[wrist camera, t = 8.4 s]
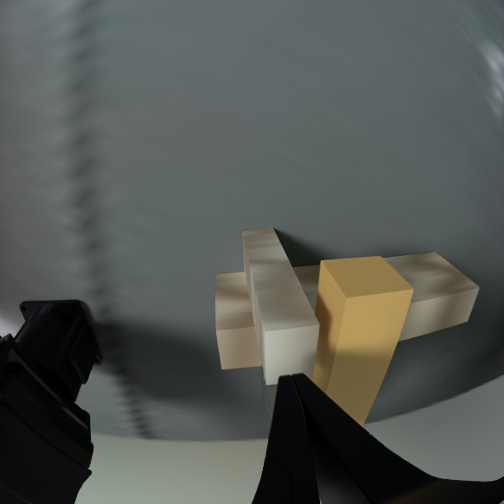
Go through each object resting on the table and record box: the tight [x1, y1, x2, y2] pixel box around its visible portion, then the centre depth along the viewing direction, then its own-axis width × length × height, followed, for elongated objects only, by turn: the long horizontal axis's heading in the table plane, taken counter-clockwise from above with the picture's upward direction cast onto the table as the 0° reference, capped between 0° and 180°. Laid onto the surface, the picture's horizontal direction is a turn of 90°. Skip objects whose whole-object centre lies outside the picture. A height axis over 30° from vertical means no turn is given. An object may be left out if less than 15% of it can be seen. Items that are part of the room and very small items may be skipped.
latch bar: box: [311, 256, 414, 426], centre depth 15 cm, size 16×4×3 cm, turn 1°
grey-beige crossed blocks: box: [215, 228, 480, 385], centre depth 17 cm, size 18×6×10 cm, turn 93°
